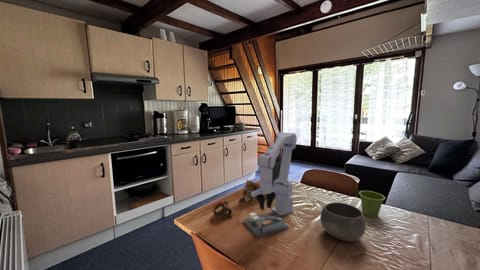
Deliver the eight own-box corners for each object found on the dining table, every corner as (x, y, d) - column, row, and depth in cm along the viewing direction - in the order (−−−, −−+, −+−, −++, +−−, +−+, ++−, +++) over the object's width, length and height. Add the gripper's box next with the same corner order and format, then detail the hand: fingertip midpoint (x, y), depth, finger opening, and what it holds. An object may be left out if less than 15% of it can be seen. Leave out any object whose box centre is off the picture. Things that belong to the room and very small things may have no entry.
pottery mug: (233, 222, 104) (225, 210, 101) (217, 227, 106) (209, 216, 104) (235, 205, 115) (228, 194, 113) (221, 211, 117) (213, 200, 115)
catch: (254, 218, 103) (254, 212, 103) (260, 223, 99) (260, 217, 98) (249, 219, 102) (249, 213, 102) (254, 225, 97) (254, 218, 97)
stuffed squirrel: (237, 201, 126) (237, 180, 125) (251, 194, 137) (251, 175, 136) (250, 206, 120) (250, 184, 118) (264, 198, 131) (264, 178, 129)
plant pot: (361, 218, 107) (362, 198, 106) (355, 208, 118) (356, 189, 117) (387, 222, 104) (389, 200, 102) (378, 211, 115) (380, 191, 114)
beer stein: (256, 188, 147) (257, 154, 144) (271, 181, 162) (271, 150, 159) (277, 194, 137) (278, 158, 134) (290, 186, 151) (291, 153, 149)
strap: (278, 219, 103) (279, 216, 103) (282, 222, 100) (282, 219, 100) (256, 216, 97) (257, 213, 97) (259, 219, 94) (260, 216, 94)
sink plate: (271, 215, 110) (271, 207, 110) (288, 228, 98) (288, 220, 97) (243, 222, 103) (243, 214, 102) (257, 237, 90) (257, 229, 90)
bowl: (365, 254, 80) (367, 224, 78) (316, 240, 89) (318, 212, 87) (363, 231, 95) (365, 205, 94) (322, 221, 104) (323, 197, 103)
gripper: (273, 175, 102) (273, 202, 103) (248, 180, 95) (247, 207, 97) (282, 180, 95) (281, 208, 97) (255, 185, 89) (255, 214, 91)
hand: (265, 208), depth 97 cm, fingers open, 3 cm apart
